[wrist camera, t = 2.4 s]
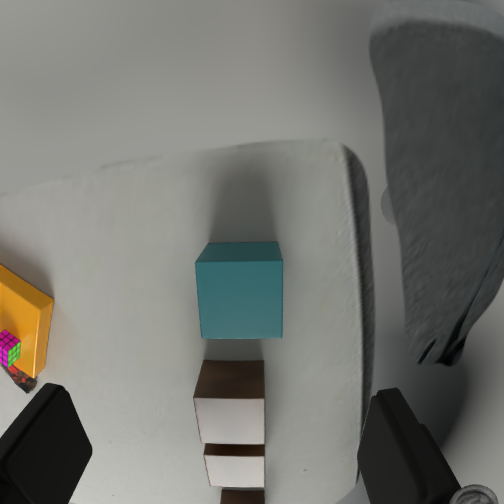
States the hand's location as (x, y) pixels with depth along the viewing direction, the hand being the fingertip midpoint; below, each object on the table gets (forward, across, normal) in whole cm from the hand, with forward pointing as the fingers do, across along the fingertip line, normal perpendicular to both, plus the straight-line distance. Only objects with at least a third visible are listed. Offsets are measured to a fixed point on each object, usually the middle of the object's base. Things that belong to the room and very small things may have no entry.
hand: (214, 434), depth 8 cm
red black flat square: (+14, +23, +10) cm, 28 cm away
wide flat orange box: (+14, +20, +3) cm, 25 cm away
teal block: (+14, 0, 0) cm, 14 cm away
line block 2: (+14, +1, +15) cm, 20 cm away
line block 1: (+14, 0, +9) cm, 17 cm away
